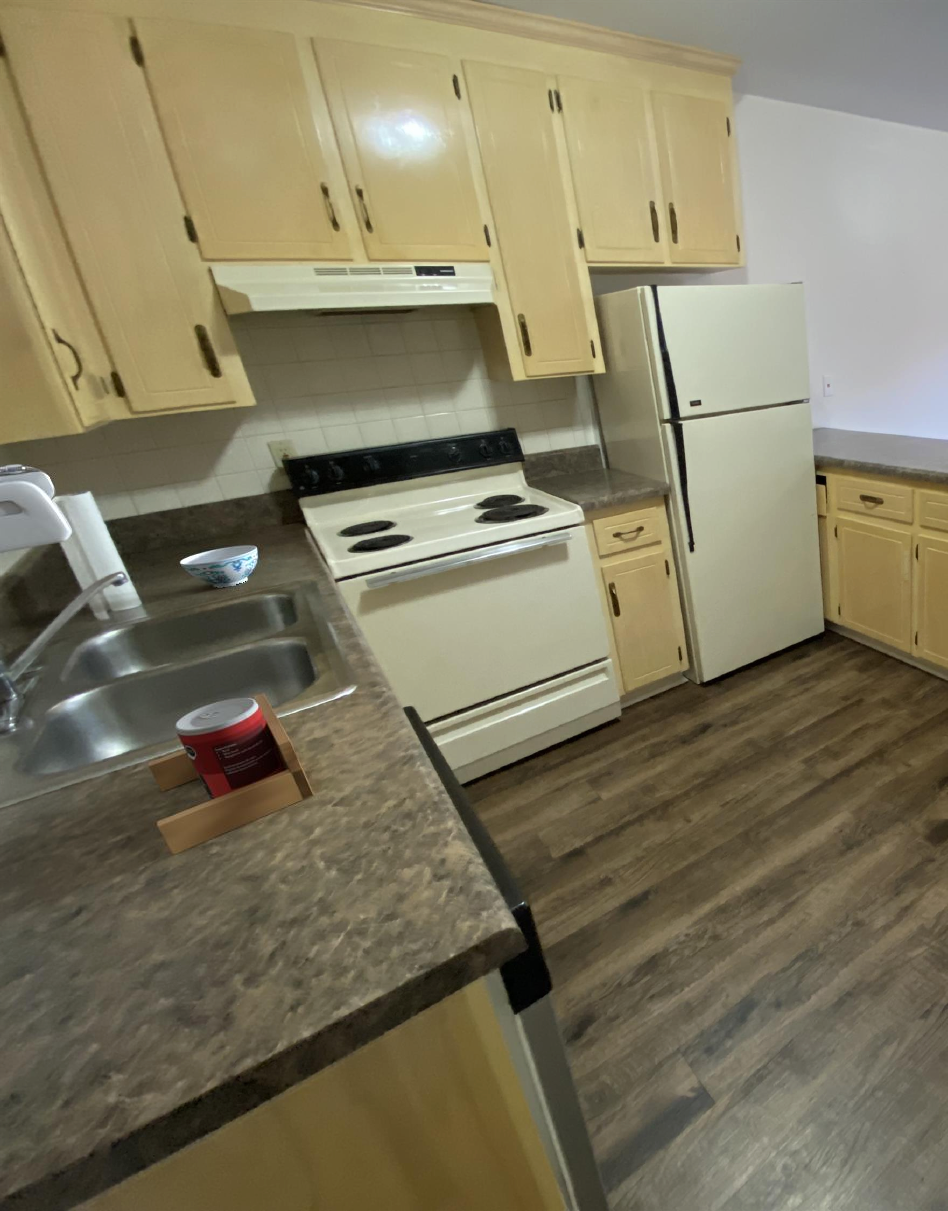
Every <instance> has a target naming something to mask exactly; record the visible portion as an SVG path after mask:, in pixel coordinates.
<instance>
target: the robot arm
mask: <svg viewBox="0 0 948 1211" xmlns="http://www.w3.org/2000/svg"><path fill="white" fill-rule="evenodd" d="M27 471H29V472H27ZM30 471H31V472H30ZM56 493H57V492H56V488H55V486H54V484H53V482H52V480H51V478H50V476H49V475H48V474H47V473H46V472H45V471H43V470H41V469H39V468H37V467H33V466H24V465H23V464H22V463H11V464H5V465H2V466H0V554H3V553H7V552H14V551H20V550H25V549H31V548H35V547H41V546H48V545H52V544H58V543H63V542H67V541H68V540H69V539H70V537H71V536H72V534H73V529H72V526H71V525H70V523H69V521H68V519H67V517H66V516H65V514H64V513H63V511H62V510H61V509H60V507H59V505H57V503H56V502H55V501H54V498H55V496H56Z"/></svg>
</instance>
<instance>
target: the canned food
mask: <svg viewBox="0 0 948 1211" xmlns="http://www.w3.org/2000/svg"><path fill="white" fill-rule="evenodd" d="M174 729H175V731H176V734H177V736H178V738H179V740H180V743H181V744H182V746H183V748H184V750H186V752H187V754H188V756H189V758H190V760H191V762H192V764H193V766H194V768H195V770H196V772H197V774H198V776H199V777H200V778H199V780H200V781H201V783H202V785H203V788H204V789H205V791H206V793H207V795H208V797H209V798H210V800H213V799H215V798H218V797H220V796H223V795H225V794H228V793H230V792H233V791H235V790H238V789H241V788H243V787H246V786H248V785H251V784H253V783H256V782H258V781H261V780H263V779H266V778H268V777H271V776H273V775H276V774H278V773H281V772H283V771H286V770H287V769H286V767H285V765H284V763H283V761H282V758H281V756H280V754H279V751H278V749H277V747H276V745H275V742H274V740H273V738H272V735H271V733H270V731H269V728H268V726H267V724H266V722H265V719H264V717H263V715H262V713H261V711H260V708H259V706H258V704H257V703H256V701H255V700H254V698H250V697H237V698H230V699H225V700H220V701H217V702H213V703H210V704H207V705H205V706H202V707H201V706H200V708H197V709H194V710H192V711H191V712H188V713H187V714H185V715H184V716H182V717H181V718H179V719H178V720H177V721H176V723H175V724H174Z"/></svg>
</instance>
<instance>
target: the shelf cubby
mask: <svg viewBox="0 0 948 1211" xmlns="http://www.w3.org/2000/svg"><path fill="white" fill-rule="evenodd" d="M252 699H254V700H255V701H256V703H257V704H258V706H259V708H260V711H261V713H262V715H263V717H264V719H265V722H266V724H267V726H268V728H269V731H270V733H271V735H272V738H273V740H274V742H275V745H276V747H277V749H278V751H279V754H280V756H281V758H282V761H283V763H284V765H285V768H286V771H283V772H281V773H278V774H276V775H273V776H271V777H268V778H266V779H263V780H261V781H258V782H256V783H253V784H251V785H248V786H246V787H243V788H241V789H238V790H235V791H233V792H230V793H228V794H225V795H223V796H220V797H218V798H215V799H213V800H212V799H210V800H208V801H205V802H203V803H200V804H197V805H196V806H192V807H190V808H188V809H185V810H183V811H181V812H178V813H176V814H175V813H174V814H173V815H171V816H170V815H169V816H167V817H165V818H163V819H160V820H158V821H156V826H157V828H158V830H159V832H160V834H161V835H162V837H163V839H164V841H165V843H166V844H167V846H168V849H169V850H170V852H171V853H172V855H173V856H174V855H177V854H179V853H182V852H184V851H186V850H189V849H191V848H194V847H195V846H199V845H200V844H202V843H205V842H207V841H209V840H212V839H214V838H217V837H219V836H221V835H224V834H226V833H228V832H231V831H233V830H236V829H237V828H240V827H243V826H245V825H247V824H249V823H252V822H255V821H257V820H259V819H261V818H263V817H265V816H268V815H270V814H272V813H275V812H277V811H280V810H282V809H284V808H287V807H289V806H292V805H293V804H296V803H299V802H301V801H303V800H305V799H308V798H310V797H312V796H314V795H315V794H314V791H313V790H312V787H311V785H310V783H309V780H308V778H307V776H306V774H305V771H304V769H303V766H302V764H301V762H300V760H299V757H298V755H297V752H296V751H295V748H294V746H293V743H292V740H291V739H290V737H289V735H288V734H287V732H286V730H285V729H284V727H283V725H282V724H281V721H280V719H279V718H278V716H277V714H276V713H275V711H274V709H273V707H272V706H271V704H270V702H269V700H268V698H267V697H266V694H265V693H260V694H258V695H253V697H252ZM147 765H148V768H149V771H150V772H151V774H152V776H153V777H154V779H155V781H156V783H157V785H158V787H159V789H160V791H161V792H162V793H163V792H166V791H168V790H171V789H174V788H176V787H179V786H182V785H184V784H187V783H190V782H192V781H195V780H198V779H200V777H199V776H198V774H197V772H196V770H195V768H194V766H193V764H192V762H191V760H190V758H189V756H188V754H187V752H186V750H185V749H183V750H180V751H177V752H174V753H171V754H168V755H166V756H163V757H160V758H157V759H154V760H151V761H149V762H147Z"/></svg>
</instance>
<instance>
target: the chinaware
mask: <svg viewBox="0 0 948 1211" xmlns="http://www.w3.org/2000/svg"><path fill="white" fill-rule="evenodd" d="M258 556H259V555H258V548H257V546H256V545H237V546H236V545H235V546H228V547H223V548H222V547H221V548H216V549H212V550H208V551H203V552H200V553H197V554H193V555H189V556H187V557H185V558H182V559H181V560H180V561H179V564H180V566H181V567H182V568H183V570H185V572H186V573H187V574H188V575H190V576H191V577H193V578H194V579H196V580H198V581H200V582H202V583H204V584H205V583H206V584H209V585H212V586H213V587H214V588H215V587H217V588H216V589H224V588H223V587H225V588H230V586H231V587H234V586H237V585H236V584H239V583H242V584H244V583H246V582H247V581H248V580H249V579H248V577H249V576H250V575H251V574H252V572H253V571H254V570H255V568H256V566H257V563H258ZM245 581H246V582H245ZM243 582H244V583H243ZM239 585H240V584H239Z"/></svg>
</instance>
